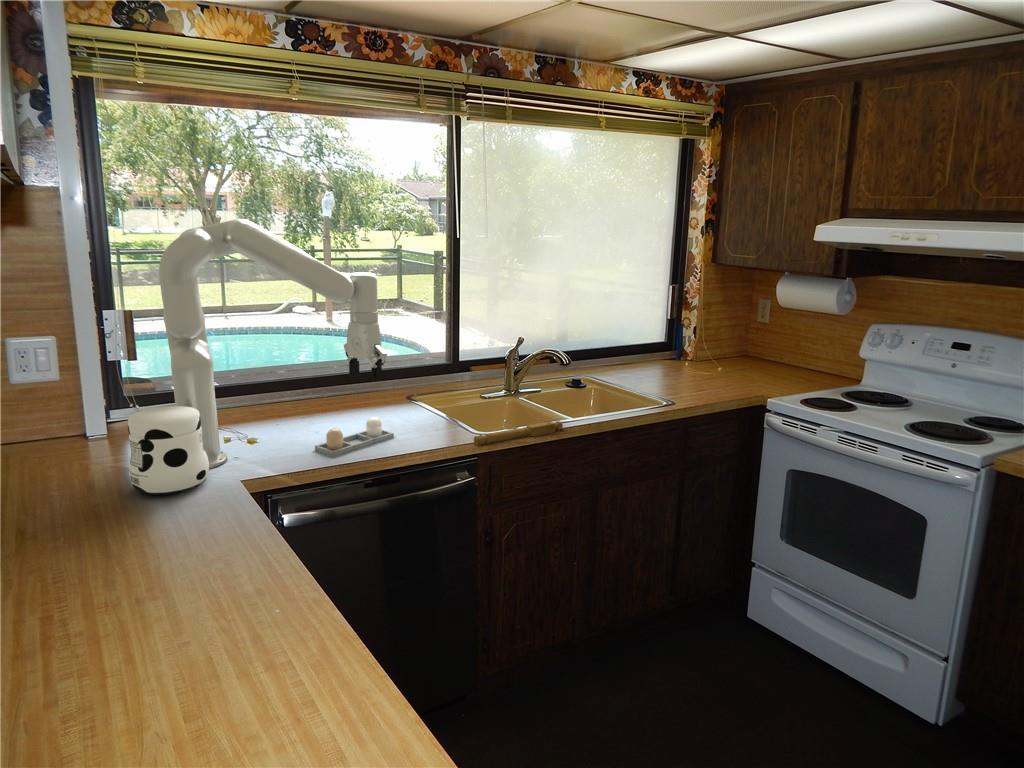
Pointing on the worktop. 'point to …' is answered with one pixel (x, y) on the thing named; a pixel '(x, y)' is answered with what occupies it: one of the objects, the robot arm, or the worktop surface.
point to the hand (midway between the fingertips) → (365, 377)
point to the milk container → (167, 450)
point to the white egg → (374, 427)
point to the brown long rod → (519, 432)
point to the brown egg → (334, 439)
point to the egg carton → (354, 443)
